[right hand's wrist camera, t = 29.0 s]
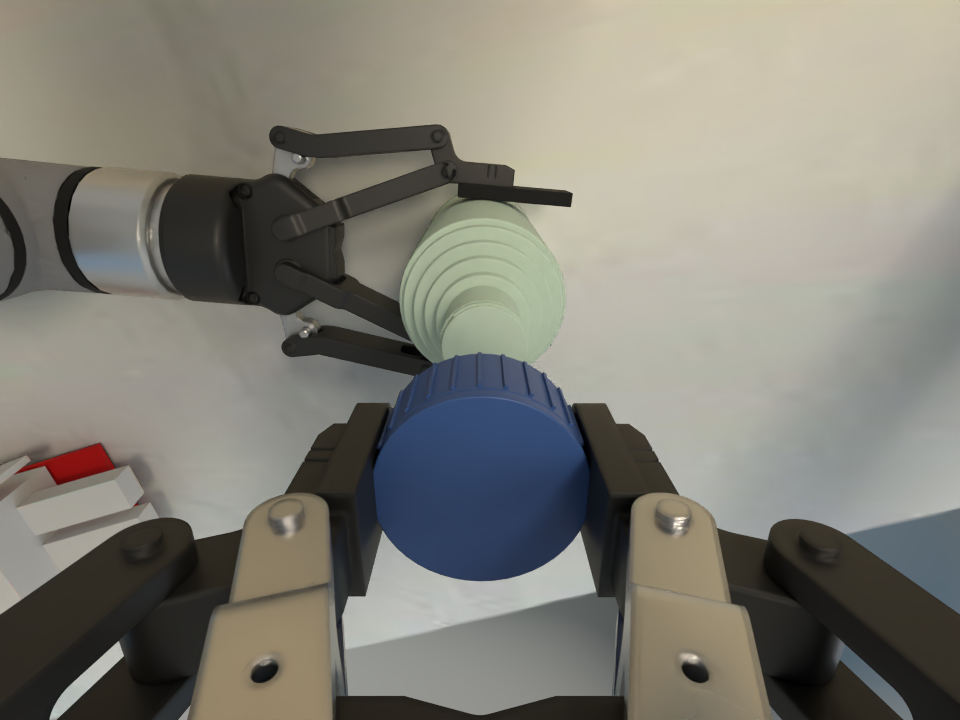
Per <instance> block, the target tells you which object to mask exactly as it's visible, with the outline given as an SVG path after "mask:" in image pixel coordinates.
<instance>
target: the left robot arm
mask: <svg viewBox="0 0 960 720" xmlns="http://www.w3.org/2000/svg"><path fill="white" fill-rule="evenodd" d="M269 138H270V141H271V143H272V144H273V146H274V147H275V155H274V163H273V171H272V174H268V175H266V176H264V177H262V178H260V179H257V180H252V179H240V178H228V177H216V176H204V175H192V174H189V175H185V176H183V177H181V176H179V175H177V174H175V173H170V172H158V171H146V170H135V169H123V168H111V167H83V166H73V165H64V164H54V163H45V162H36V161H27V160H16V159H6V158H0V301H3V300H7V299H10V298H13V297H17V296H20V295H23V294H26V293H30V292H34V291H40V290H63V291H78V292H92V293H104V294H117V295H129V296H141V297H152V298H164V299H175V300H178V299H182V298H185V297H186V298H187V299H189V300H192V301H203V302H216V303H228V304H240V305H258V306H262V307H265V308H267V309H269V310H271V311H273V312H274V313H276V314H279V315H281V319H282V323H283V327H284V331H285V335H286V340H285V341H284V342H283V343H282V351H283V353H284V354H285V355H287V356H289V357H298V356H308V355H318V354H320V355H324V356H328V357H333V358H337V359H342V360H346V361H351V362H355V363H360V364H364V365H369V366H373V367H377V368H382V369H386V370H391V371H395V372H400V373H404V374H409V375H413V376H415V375H416V374H417V375H419V374H421V373H422V372H423V371H425V370H426V369H428V368H430V367H431V366H432V365H433V363H432V362H431V361H429V360H428V359H427V358H426V357H425V356H424V355H423V354H422V353H421V352H420V351H419V350H418V349H417V348H416V346H415V345H414V344H410V343H405V342H401V341H396V340H392V339H388V338H383V337H379V336H375V335H370V334H366V333H362V332H357V331H353V330H349V329H344V328H340V327H335V326H320V324H319V322H318V321H317V320H316V319H313V318H308V317H305V316H304V315H303V314H302V313H301V311H300V309H301V308H303V307H305V306H306V305H308V304H309V303H311V302H313V301H314V300H316V299H317V300H319V301H321V302H324V303H326V304H328V305H330V306H332V307H334V308H337V309H345V310H347V311H349V312H351V313H353V314H355V315H357V316H359V317H361V318H364V319H366V320H368V321H370V322H372V323H374V324H376V325H378V326H380V327H382V328H384V329H386V330H388V331H391V332H393V333H395V334H397V335H399V336H401V337H403V338H405V339H407V340H409V341H411V339H410V337H409V335H408V333H407V331H406V329H405V326H404V324H403V321H402V316H401V312H400V303H399V302H397V301H395V300H393V299H391V298H389V297H387V296H384V295H382V294H380V293H378V292H376V291H374V290H372V289H370V288H368V287H366V286H364V285H362V284H360V283H359V282H358V280H356V279H355V278H353V277H351V276H349V275H347V274H345V265H344V257H343V254H342V250H341V246H342V242H343V238H344V223H341V221H343V220H346V219H348V218H351V217H354V216H357V215H360V214H362V213H365V212H368V211H371V210H374V209H377V208H380V207H382V206H385V205H388V204H391V203H394V202H397V201H400V200H403V199H405V198H408V197H411V196H414V195H417V194H420V193H423V192H425V191H428V190H431V189H434V188H437V187H440V186H443V185H445V184H448V183H457V184H459V185H458V197H460V198H471V199H483V200H494V201H506V202H518V203H529V204H541V205H552V206H564V207H571V202H572V195H573V193H570V192H568V191H565V190H554V189H543V188H531V187H520V186H513V182H514V172H515V170H514V169H512V168H510V167H508V166H506V165H498V164H486V163H475V162H465V161H462V160H460V159H459V158H458V157H457V156H456V154H455V152H454V149H453V145H452V141H451V137H450V133H449V132H448V130H447V129H446V128H445V127H443V126H441V125H437V124H436V125H424V126H412V127H401V128H389V129H377V130H365V131H353V132H342V133H330V134H318V135H317V134H314V133H311V132H307V131H304V130H300V129H297V128H291V127H285V126H275V127H273V128H272V129H271V131H270V134H269ZM420 150H431V152H432V156H433V159H434V163H435V164H434V165H431V166H428V167H426V168H423V169H420V170H417V171H414V172H412V173H409V174H406V175H403V176H400V177H397V178H395V179H392V180H389V181H386V182H383V183H381V184H378V185H375V186H372V187H369V188H366V189H364V190H361V191H358V192H355V193H352V194H349V195H347V196H344V197H341V198H338V199H335V200H332V201H329V202H327V203H325V202H323V201H322V200H321V199H320V198H318V197H317V196H316V195H315V194H314V193H312V192H311V191H310V190H309V189H307V188H306V187H305V186H304V185H303V184H301V183H300V182H299V181H298V180H296V179H295V178H294V176H295V173H296V172H297V171H298V170H299V169H308V168H311V167H312V166H313V165H314V164H315V161H316V158H336V157H348V156H360V155H372V154H384V153H396V152H408V151H420ZM411 342H412V341H411ZM550 346H551V345H550Z"/></svg>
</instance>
